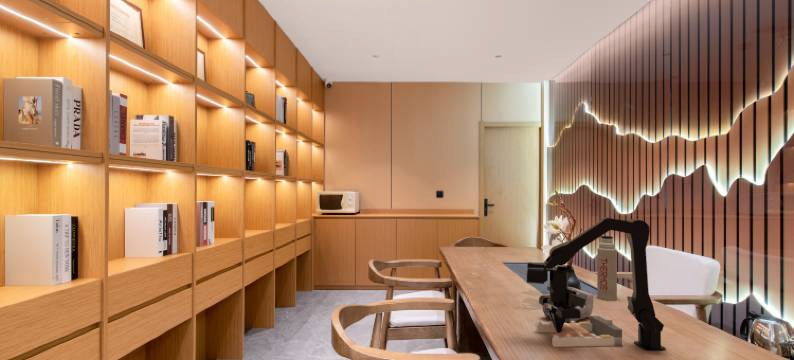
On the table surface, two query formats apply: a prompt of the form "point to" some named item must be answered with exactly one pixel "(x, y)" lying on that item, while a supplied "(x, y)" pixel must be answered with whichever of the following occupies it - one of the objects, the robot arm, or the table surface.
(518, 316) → the table surface
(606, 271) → the thermos bottle
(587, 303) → the cell model
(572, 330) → the block
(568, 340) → the comb channel
